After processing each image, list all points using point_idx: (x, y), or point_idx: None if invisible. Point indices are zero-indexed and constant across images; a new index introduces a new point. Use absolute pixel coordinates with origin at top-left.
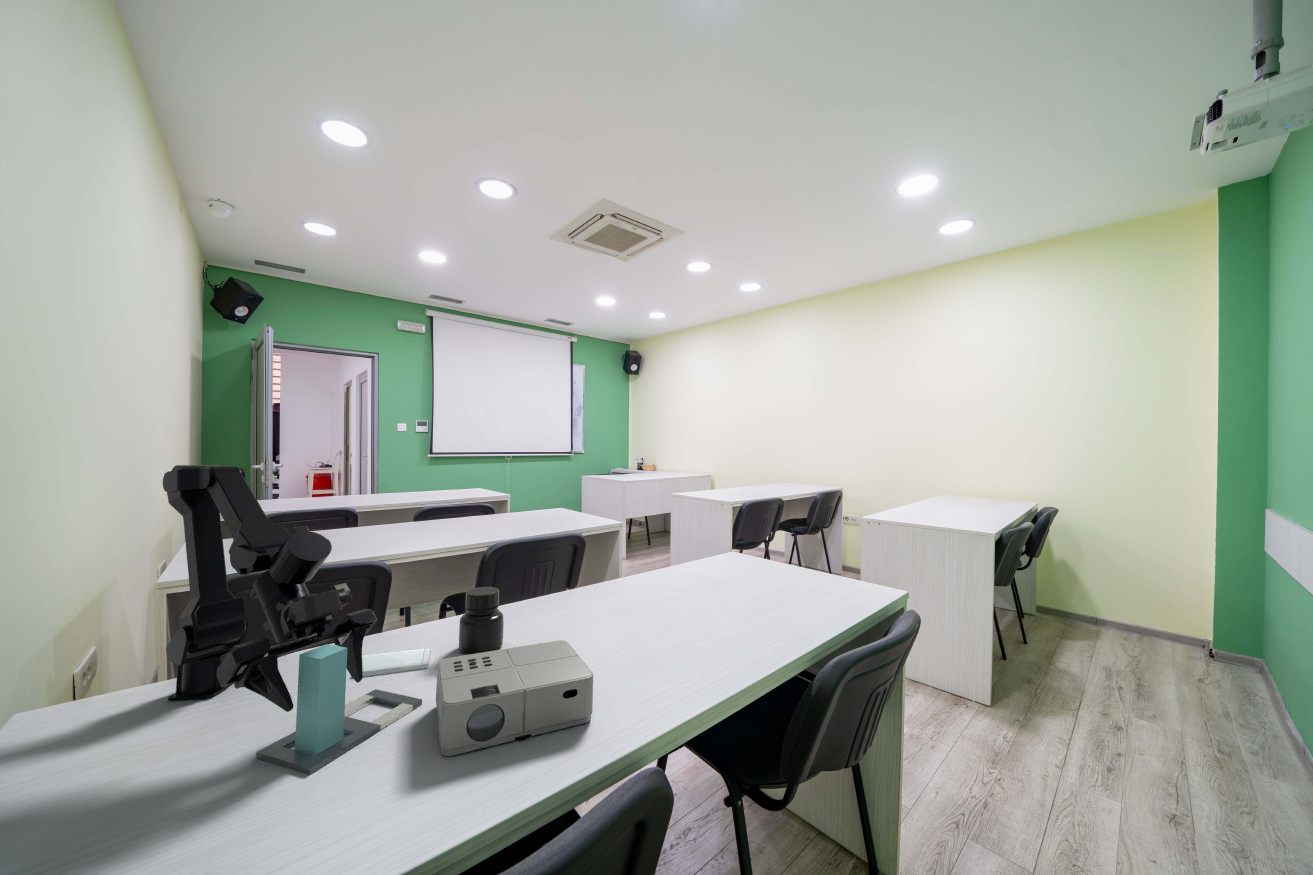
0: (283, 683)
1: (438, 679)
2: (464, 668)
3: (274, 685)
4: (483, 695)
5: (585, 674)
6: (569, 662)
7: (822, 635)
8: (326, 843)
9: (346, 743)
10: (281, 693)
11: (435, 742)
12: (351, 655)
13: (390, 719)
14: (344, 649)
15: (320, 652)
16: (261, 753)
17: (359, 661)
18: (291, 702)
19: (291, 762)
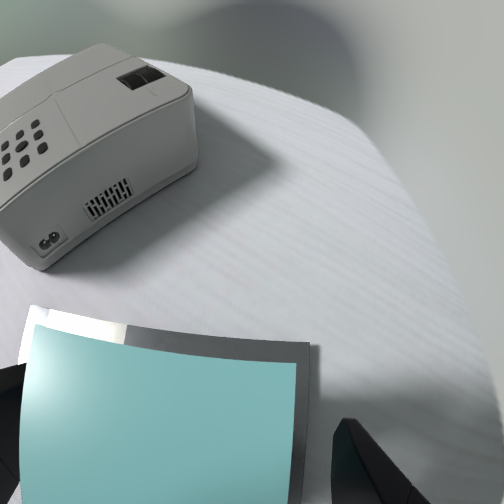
0: (382, 490)
1: (62, 173)
2: (38, 144)
3: (415, 492)
4: (158, 70)
5: (99, 45)
6: (60, 66)
7: (18, 59)
8: (385, 196)
9: (210, 345)
10: (388, 459)
11: (158, 200)
12: (5, 416)
13: (102, 320)
14: (56, 332)
15: (165, 496)
16: (301, 493)
17: (23, 369)
18: (350, 428)
19: (307, 401)
